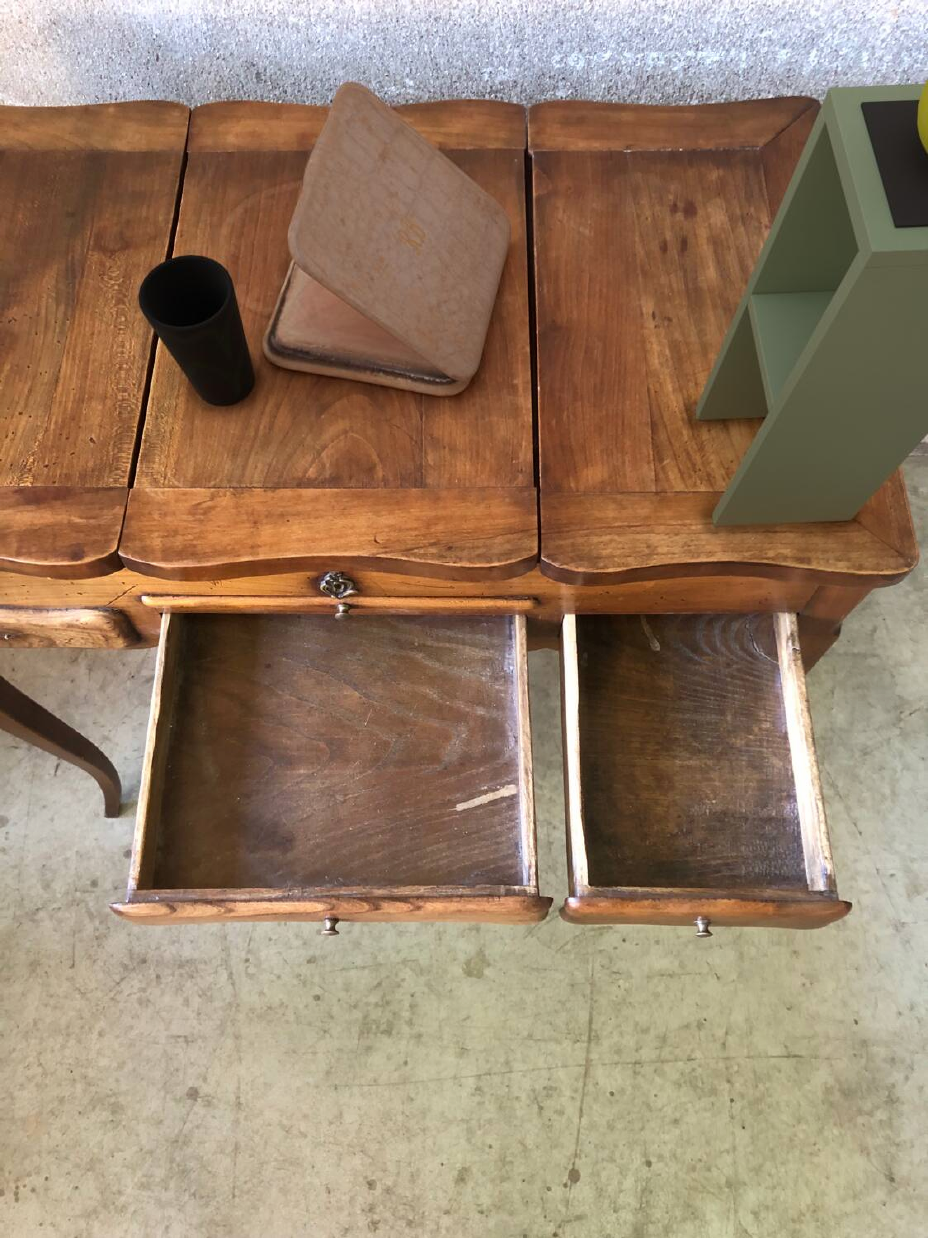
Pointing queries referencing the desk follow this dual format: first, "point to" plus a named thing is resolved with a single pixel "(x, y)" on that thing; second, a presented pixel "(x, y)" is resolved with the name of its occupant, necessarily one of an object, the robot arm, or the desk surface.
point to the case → (387, 257)
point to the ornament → (923, 116)
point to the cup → (200, 326)
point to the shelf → (833, 320)
